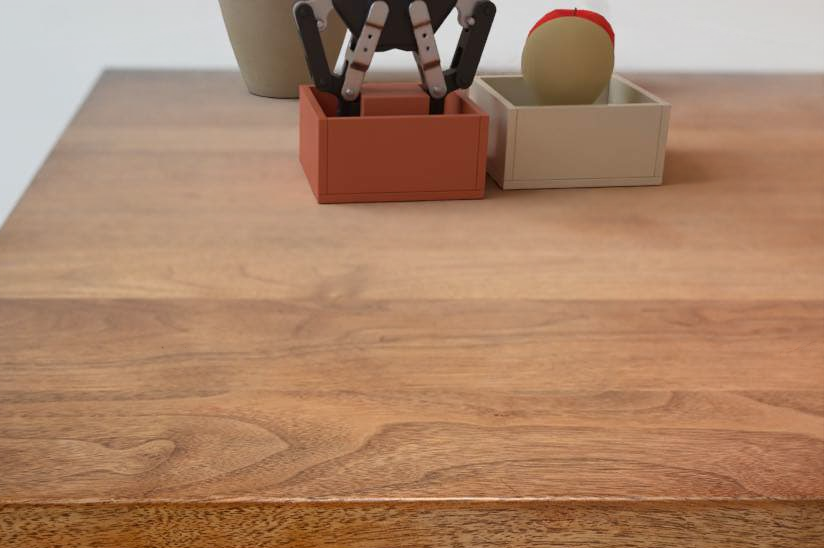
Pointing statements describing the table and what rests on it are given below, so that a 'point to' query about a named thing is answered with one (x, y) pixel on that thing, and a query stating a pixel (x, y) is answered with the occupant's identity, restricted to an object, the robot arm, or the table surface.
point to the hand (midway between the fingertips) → (389, 149)
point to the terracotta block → (393, 100)
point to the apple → (581, 14)
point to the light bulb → (567, 62)
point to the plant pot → (275, 45)
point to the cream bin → (572, 136)
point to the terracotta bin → (393, 151)
